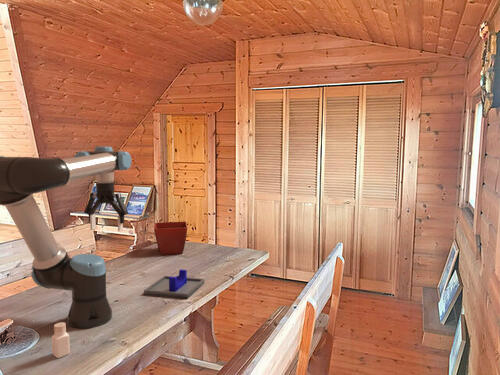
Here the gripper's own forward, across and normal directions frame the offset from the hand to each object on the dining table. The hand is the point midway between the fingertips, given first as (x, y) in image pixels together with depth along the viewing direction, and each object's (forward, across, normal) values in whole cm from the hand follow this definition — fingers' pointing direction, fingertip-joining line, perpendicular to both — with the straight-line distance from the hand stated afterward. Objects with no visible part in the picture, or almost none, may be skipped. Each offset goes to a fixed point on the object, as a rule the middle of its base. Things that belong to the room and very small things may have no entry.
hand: (106, 230), depth 175 cm
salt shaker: (+27, -19, +54) cm, 63 cm away
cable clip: (+26, -30, -7) cm, 40 cm away
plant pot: (+27, 0, -65) cm, 70 cm away
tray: (+27, -29, -7) cm, 40 cm away
